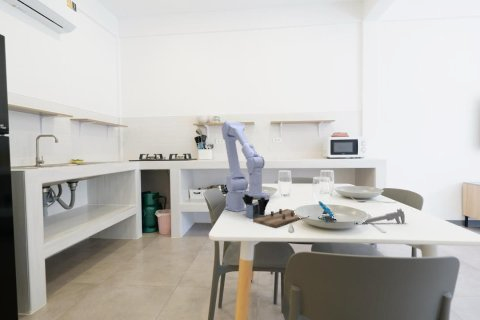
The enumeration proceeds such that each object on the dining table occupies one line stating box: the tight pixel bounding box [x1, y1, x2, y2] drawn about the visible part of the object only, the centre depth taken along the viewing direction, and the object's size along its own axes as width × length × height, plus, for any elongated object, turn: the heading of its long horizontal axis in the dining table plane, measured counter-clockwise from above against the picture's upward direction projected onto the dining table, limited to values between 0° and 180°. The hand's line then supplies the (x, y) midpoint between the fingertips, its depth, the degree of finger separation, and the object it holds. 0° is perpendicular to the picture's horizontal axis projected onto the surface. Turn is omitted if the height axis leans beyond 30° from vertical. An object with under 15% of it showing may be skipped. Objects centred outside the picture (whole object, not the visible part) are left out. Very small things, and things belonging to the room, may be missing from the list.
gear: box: [318, 201, 334, 218], centre depth 114 cm, size 11×6×10 cm
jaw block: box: [245, 201, 266, 220], centre depth 118 cm, size 4×8×6 cm, turn 134°
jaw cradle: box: [252, 208, 301, 229], centre depth 114 cm, size 12×24×3 cm, turn 134°
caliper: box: [361, 208, 406, 225], centre depth 106 cm, size 20×1×6 cm, turn 92°
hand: (255, 213), depth 118 cm, fingers open, 7 cm apart
